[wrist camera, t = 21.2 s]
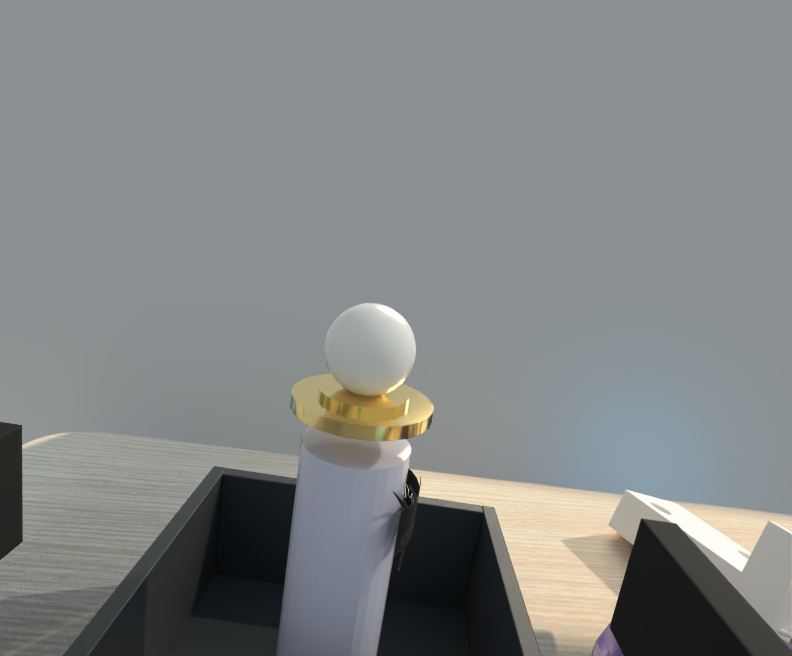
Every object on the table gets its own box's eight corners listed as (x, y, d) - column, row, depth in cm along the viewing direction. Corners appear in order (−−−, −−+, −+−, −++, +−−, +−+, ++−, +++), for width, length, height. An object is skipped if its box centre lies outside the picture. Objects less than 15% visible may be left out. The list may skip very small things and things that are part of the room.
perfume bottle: (240, 782, 20) (292, 306, 16) (267, 659, 26) (310, 284, 22) (379, 789, 21) (463, 329, 17) (376, 667, 26) (438, 302, 22)
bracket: (811, 652, 35) (863, 559, 34) (756, 647, 32) (811, 545, 31) (659, 536, 46) (694, 465, 46) (608, 524, 43) (645, 449, 43)
